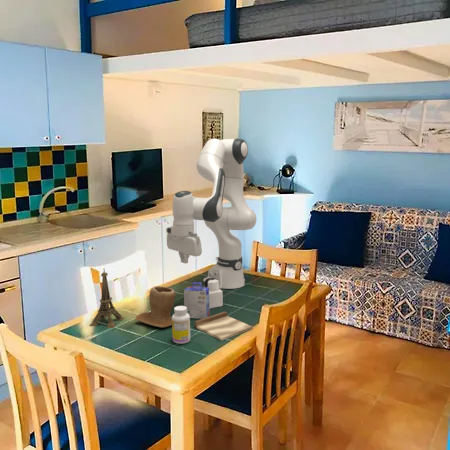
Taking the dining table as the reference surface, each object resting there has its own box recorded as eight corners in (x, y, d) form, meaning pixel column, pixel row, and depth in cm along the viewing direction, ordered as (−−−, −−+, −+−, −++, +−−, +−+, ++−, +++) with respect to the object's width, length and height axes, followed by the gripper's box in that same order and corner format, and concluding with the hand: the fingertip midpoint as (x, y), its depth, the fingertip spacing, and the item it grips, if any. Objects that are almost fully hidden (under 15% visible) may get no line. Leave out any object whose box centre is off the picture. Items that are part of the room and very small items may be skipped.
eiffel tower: (113, 328, 198) (109, 267, 193) (89, 326, 201) (85, 266, 196) (124, 318, 208) (121, 260, 203) (101, 316, 211) (97, 259, 206)
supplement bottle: (177, 335, 191) (176, 303, 188) (193, 338, 188) (192, 305, 186) (169, 342, 184) (168, 309, 182) (185, 345, 182) (184, 312, 180)
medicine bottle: (201, 303, 224) (200, 278, 221) (215, 301, 227) (215, 275, 225) (208, 309, 218) (207, 282, 215) (222, 306, 221) (222, 280, 218)
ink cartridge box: (210, 314, 211) (209, 281, 208) (207, 319, 206) (206, 286, 203) (187, 313, 213) (186, 280, 210) (184, 318, 208) (183, 284, 205)
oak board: (194, 327, 198) (194, 321, 198) (224, 317, 208) (224, 311, 208) (221, 340, 186) (221, 334, 185) (252, 328, 196) (252, 322, 196)
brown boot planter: (182, 322, 204) (181, 287, 201) (162, 332, 194) (161, 295, 191) (154, 314, 212) (153, 280, 209) (134, 323, 203) (132, 288, 200)
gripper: (205, 233, 203) (205, 266, 205) (175, 226, 218) (176, 257, 221) (192, 235, 199) (193, 269, 201) (163, 228, 214) (164, 259, 217)
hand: (184, 262), depth 211 cm, fingers closed
